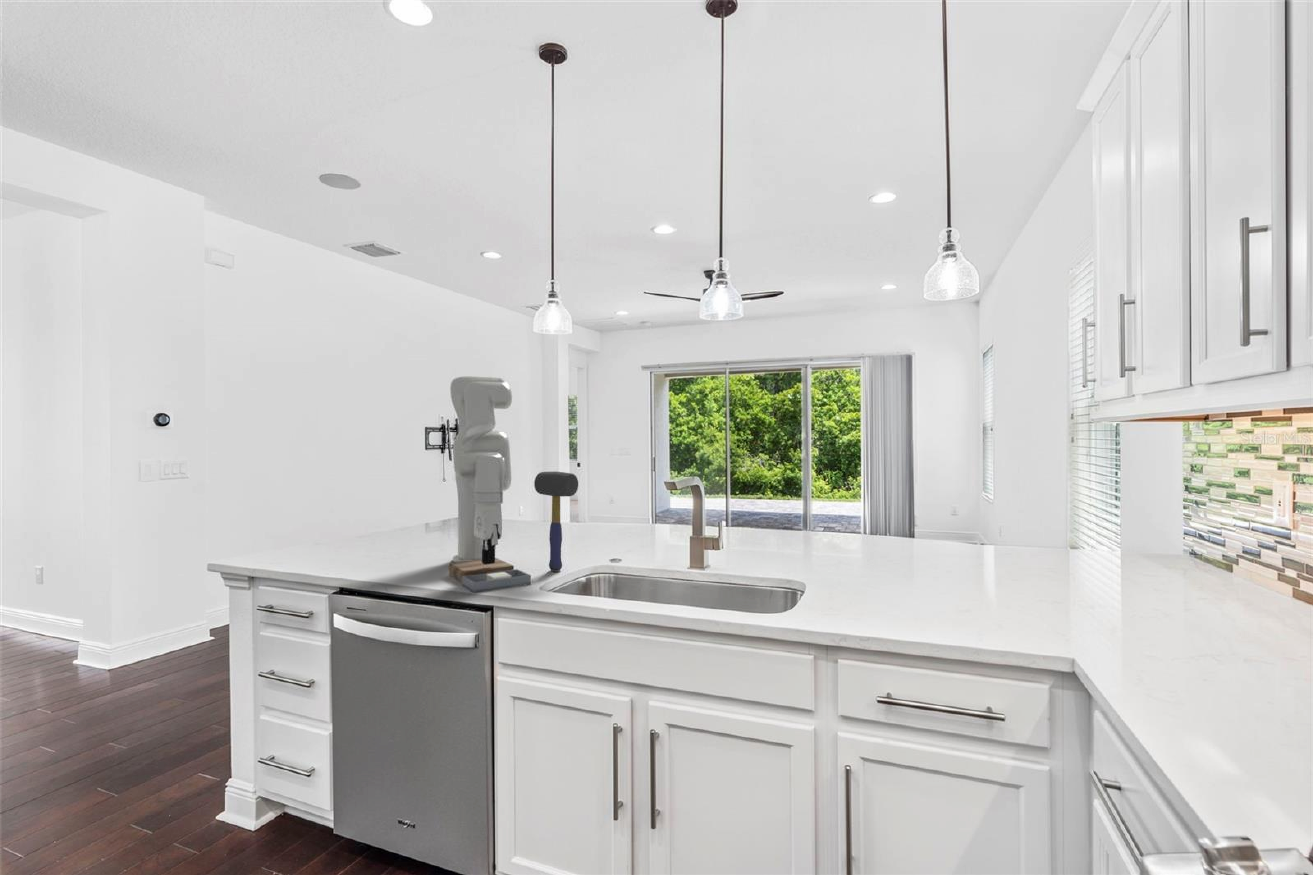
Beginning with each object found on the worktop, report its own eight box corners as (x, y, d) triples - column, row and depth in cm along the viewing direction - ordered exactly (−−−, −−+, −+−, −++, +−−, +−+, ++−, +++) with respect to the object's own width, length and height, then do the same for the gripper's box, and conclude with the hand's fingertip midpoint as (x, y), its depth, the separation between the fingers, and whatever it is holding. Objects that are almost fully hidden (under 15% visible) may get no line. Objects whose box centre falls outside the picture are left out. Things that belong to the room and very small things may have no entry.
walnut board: (449, 575, 179) (449, 563, 179) (495, 569, 187) (495, 557, 187) (464, 584, 168) (465, 571, 168) (513, 578, 176) (513, 565, 176)
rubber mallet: (579, 571, 186) (580, 471, 186) (563, 576, 179) (564, 472, 179) (547, 566, 192) (548, 470, 192) (531, 570, 186) (532, 471, 186)
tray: (461, 585, 167) (462, 576, 167) (517, 577, 177) (517, 569, 177) (473, 592, 160) (473, 582, 160) (530, 584, 169) (530, 575, 169)
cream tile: (493, 577, 164) (493, 587, 164) (511, 575, 167) (511, 584, 167) (486, 574, 168) (486, 583, 168) (504, 572, 171) (504, 581, 171)
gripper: (466, 496, 177) (466, 560, 177) (485, 501, 165) (485, 570, 165) (492, 494, 181) (491, 557, 182) (512, 500, 169) (511, 566, 170)
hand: (488, 563), depth 173 cm, fingers closed
